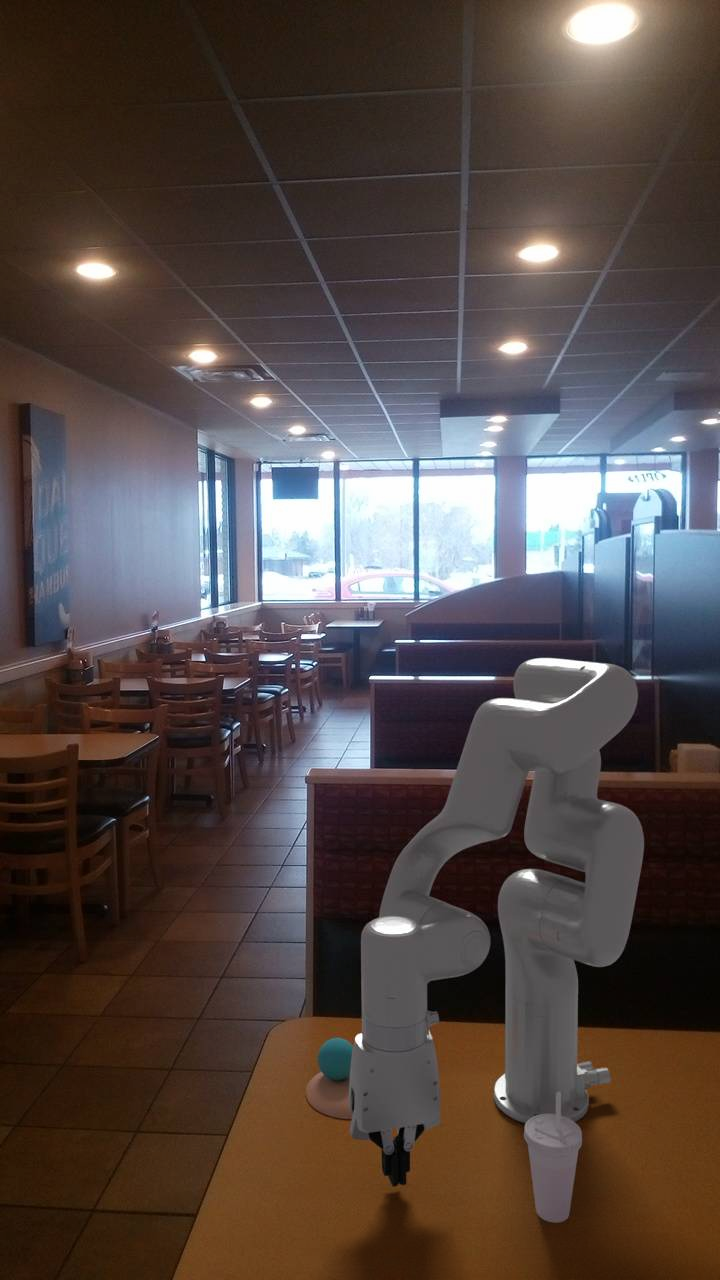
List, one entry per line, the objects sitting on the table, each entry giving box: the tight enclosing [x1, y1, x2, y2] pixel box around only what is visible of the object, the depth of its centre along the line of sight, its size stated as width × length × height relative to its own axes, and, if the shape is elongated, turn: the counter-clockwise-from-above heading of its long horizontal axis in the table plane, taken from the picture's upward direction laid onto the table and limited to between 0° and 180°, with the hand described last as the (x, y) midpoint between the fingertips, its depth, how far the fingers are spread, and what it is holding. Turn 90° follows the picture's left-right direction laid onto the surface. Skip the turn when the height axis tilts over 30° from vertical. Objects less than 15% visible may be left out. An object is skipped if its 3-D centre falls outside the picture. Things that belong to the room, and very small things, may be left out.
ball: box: [317, 1037, 354, 1080], centre depth 133 cm, size 6×6×6 cm
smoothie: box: [523, 1092, 583, 1224], centre depth 105 cm, size 6×6×14 cm
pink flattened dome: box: [305, 1071, 353, 1120], centre depth 130 cm, size 13×13×1 cm
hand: (395, 1177), depth 109 cm, fingers closed
